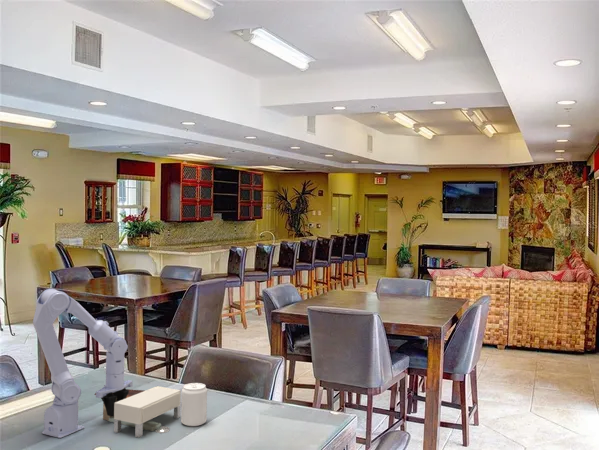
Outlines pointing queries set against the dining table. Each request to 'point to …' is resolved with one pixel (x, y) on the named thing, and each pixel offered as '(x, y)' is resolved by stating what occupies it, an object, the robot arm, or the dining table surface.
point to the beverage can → (194, 404)
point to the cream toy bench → (146, 407)
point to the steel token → (162, 429)
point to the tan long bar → (146, 425)
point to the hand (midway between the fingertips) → (114, 413)
